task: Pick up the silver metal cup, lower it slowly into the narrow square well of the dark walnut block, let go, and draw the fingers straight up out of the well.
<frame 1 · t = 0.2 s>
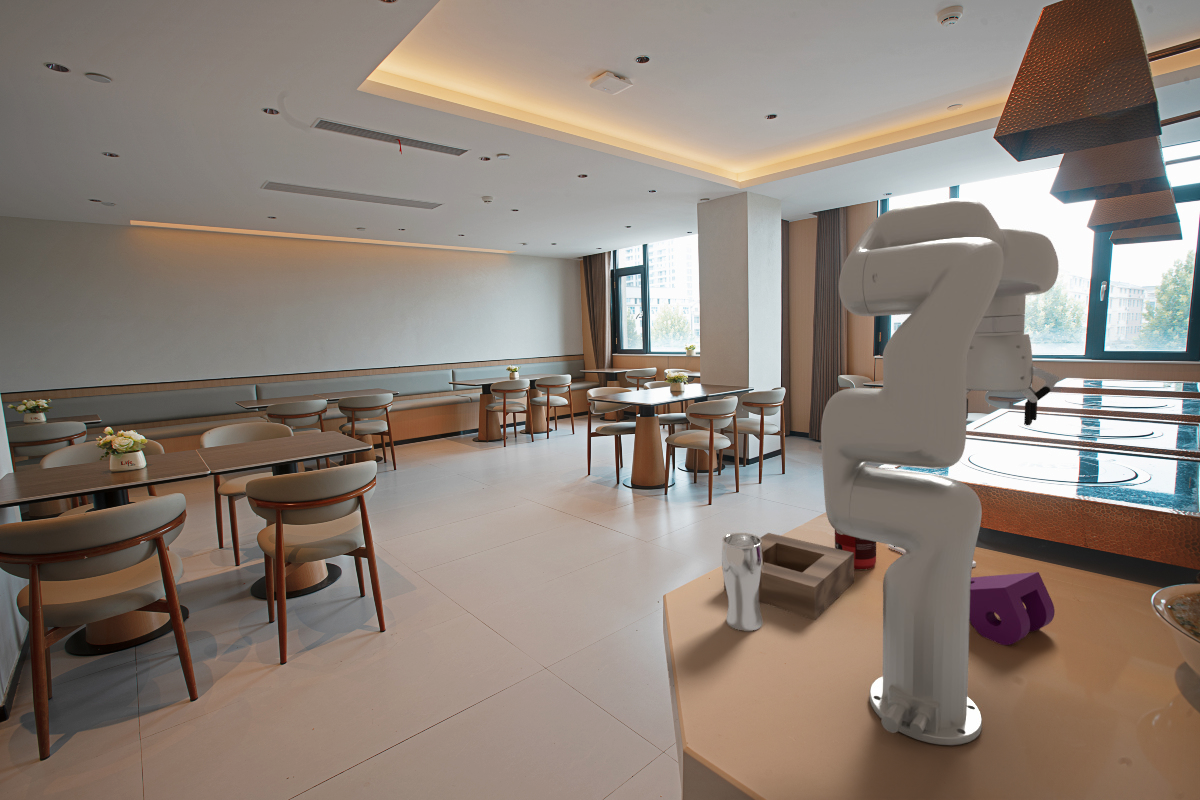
hand: (994, 421, 100), 31 cm above the table, tool pointing down, fingers open, 9 cm apart
power bank: (930, 559, 117), on the table
canned food: (855, 563, 116), on the table
silver metal cup: (744, 623, 96), on the table
walnut well: (789, 585, 108), on the table
mounting bracket: (973, 619, 93), on the table
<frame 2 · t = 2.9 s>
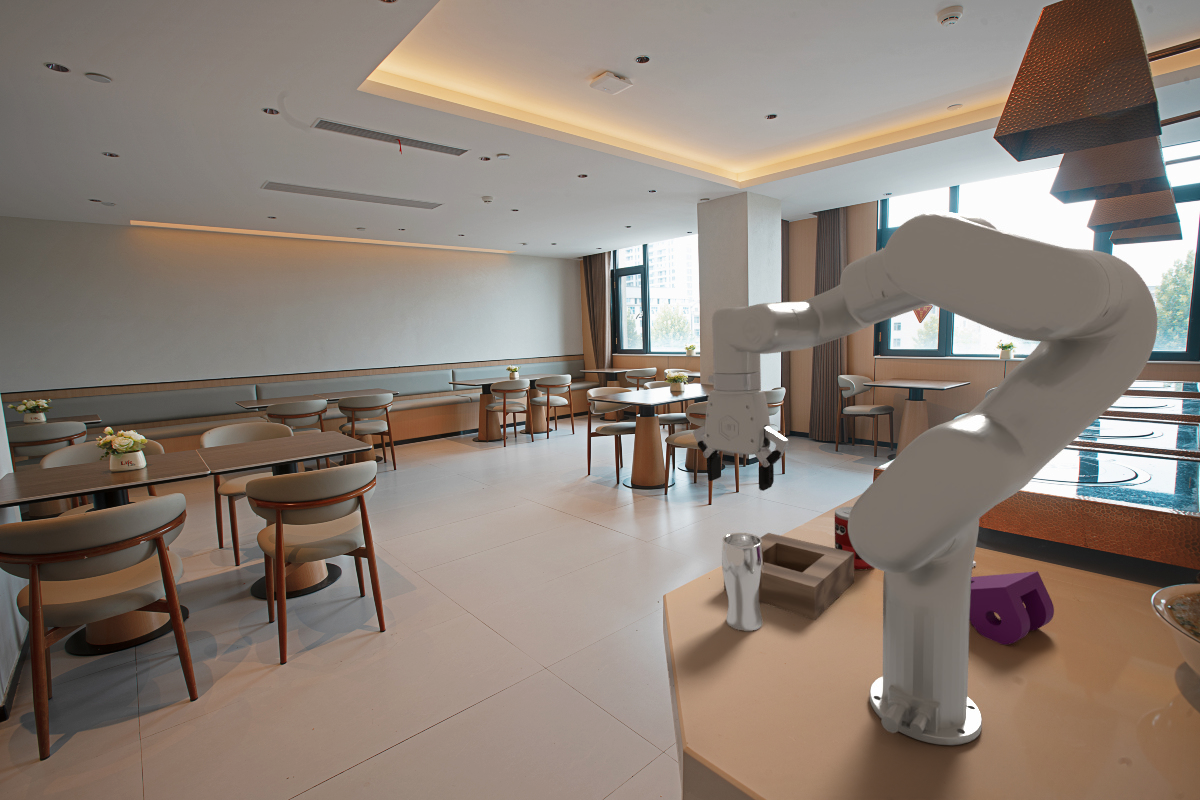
hand: (739, 483, 93), 25 cm above the table, tool pointing down, fingers open, 9 cm apart
nothing on the table moved.
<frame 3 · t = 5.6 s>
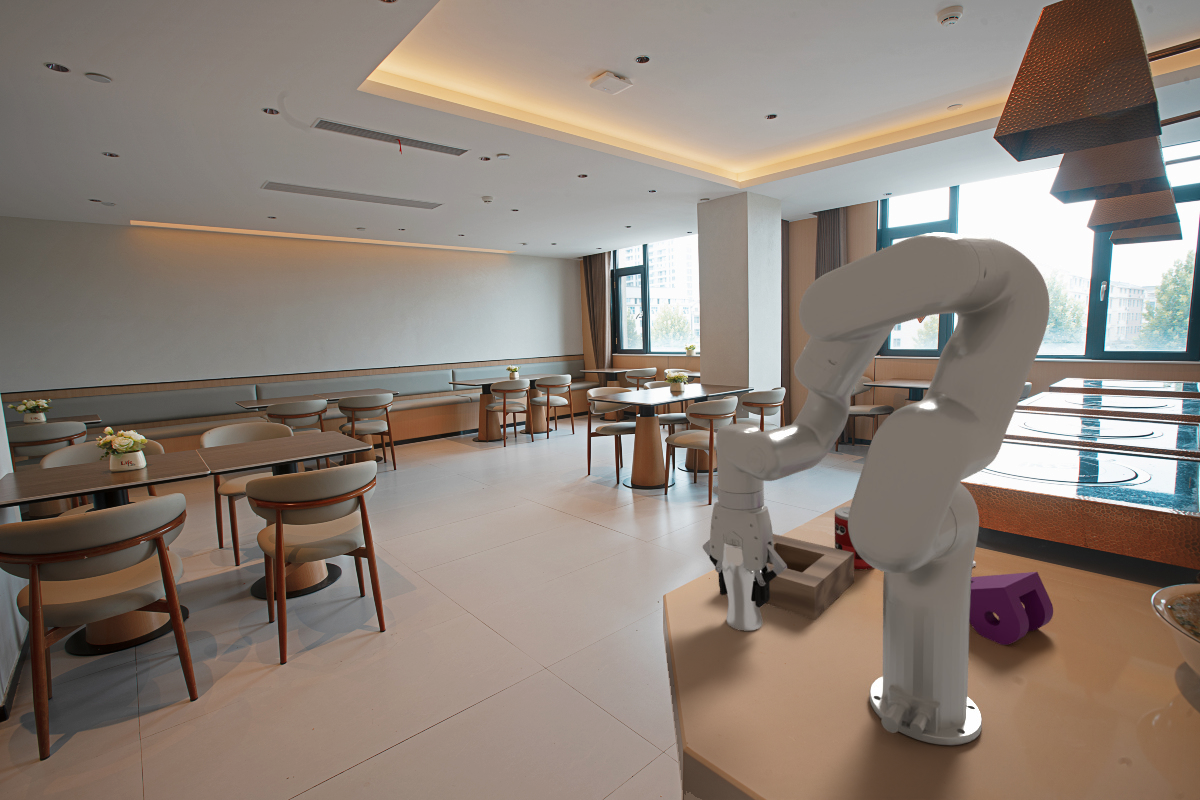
hand: (743, 597, 95), 5 cm above the table, tool pointing down, fingers closed on silver metal cup, 6 cm apart
silver metal cup: (744, 623, 96), on the table, touching gripper
everything else where it was.
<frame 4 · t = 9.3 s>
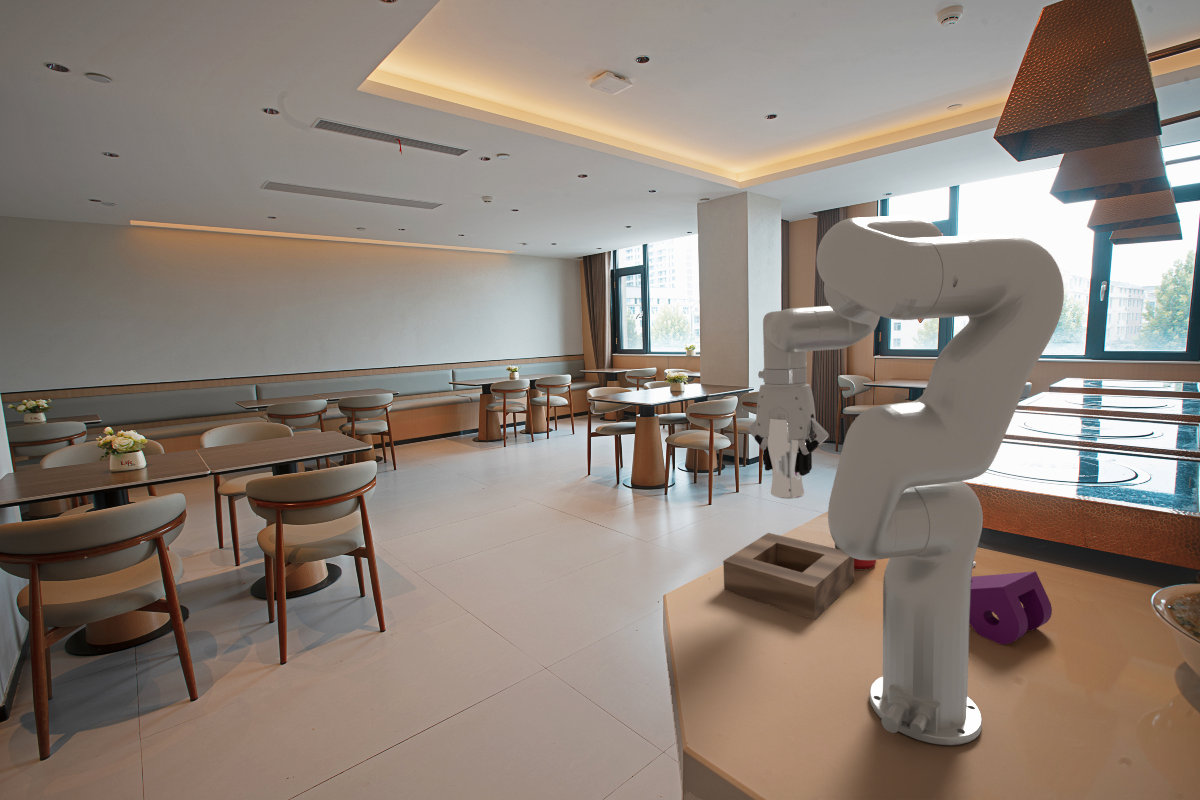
hand: (787, 470, 105), 23 cm above the table, tool pointing down, fingers closed on silver metal cup, 6 cm apart
silver metal cup: (787, 495, 105), point 18 cm above the table, touching gripper
everything else where it was.
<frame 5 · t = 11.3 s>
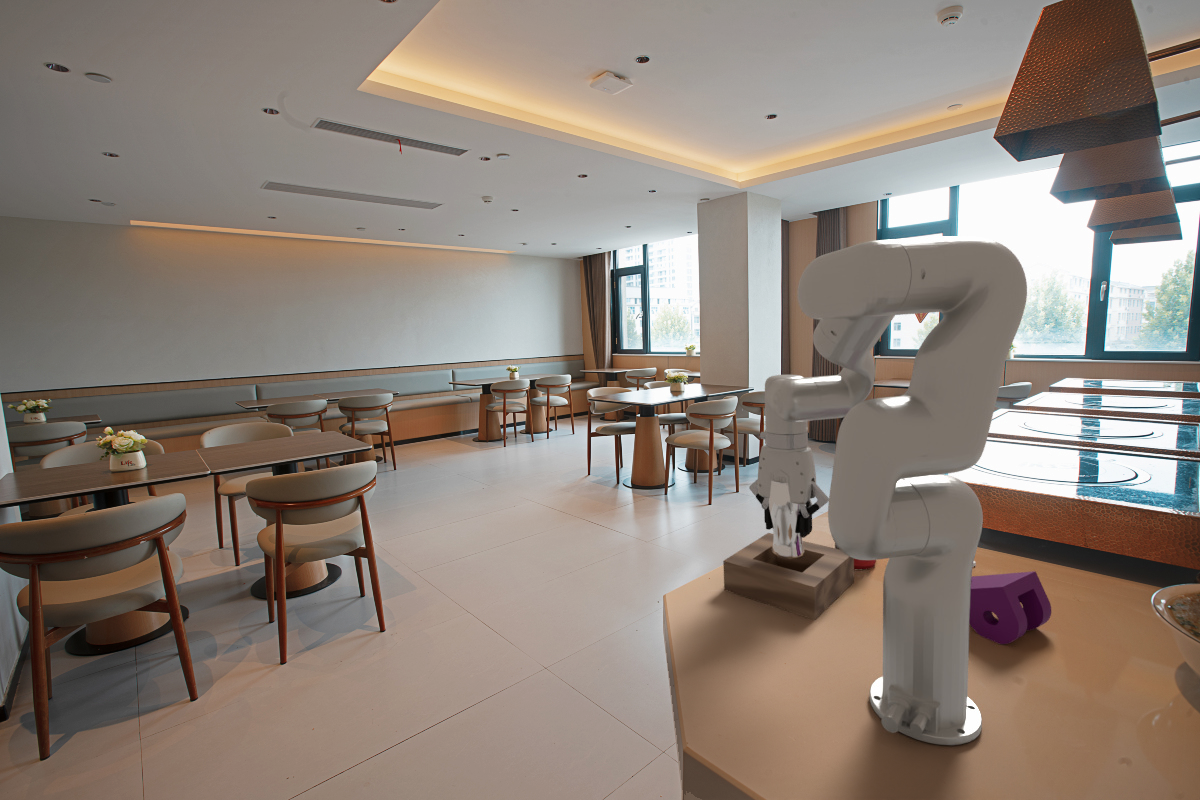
hand: (787, 530, 106), 11 cm above the table, tool pointing down, fingers closed on silver metal cup, 6 cm apart
silver metal cup: (788, 553, 107), point 6 cm above the table, touching gripper
everything else where it was.
when the fingers open (7 cm above the table, at t = 13.0 s): silver metal cup drops 2 cm, resting on walnut well.
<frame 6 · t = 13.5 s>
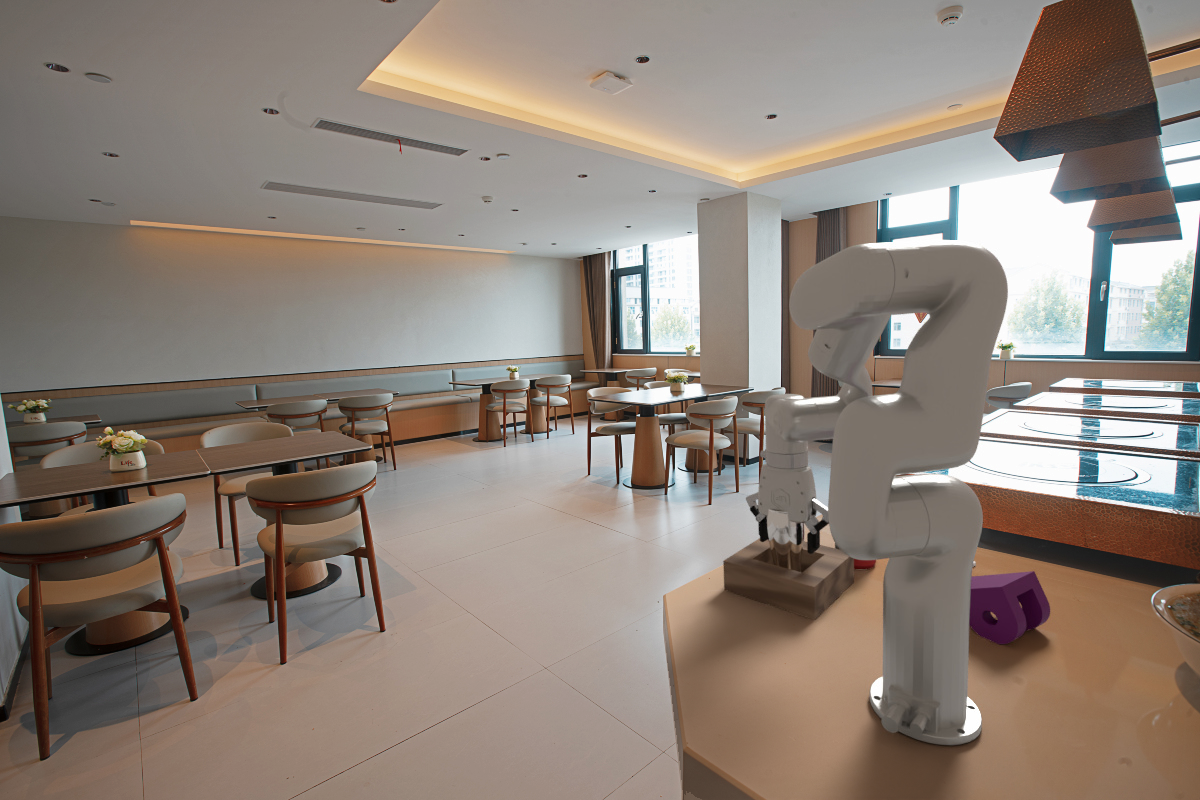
hand: (788, 545, 107), 8 cm above the table, tool pointing down, fingers open, 9 cm apart
silver metal cup: (788, 581, 107), point 1 cm above the table, touching walnut well
everything else where it was.
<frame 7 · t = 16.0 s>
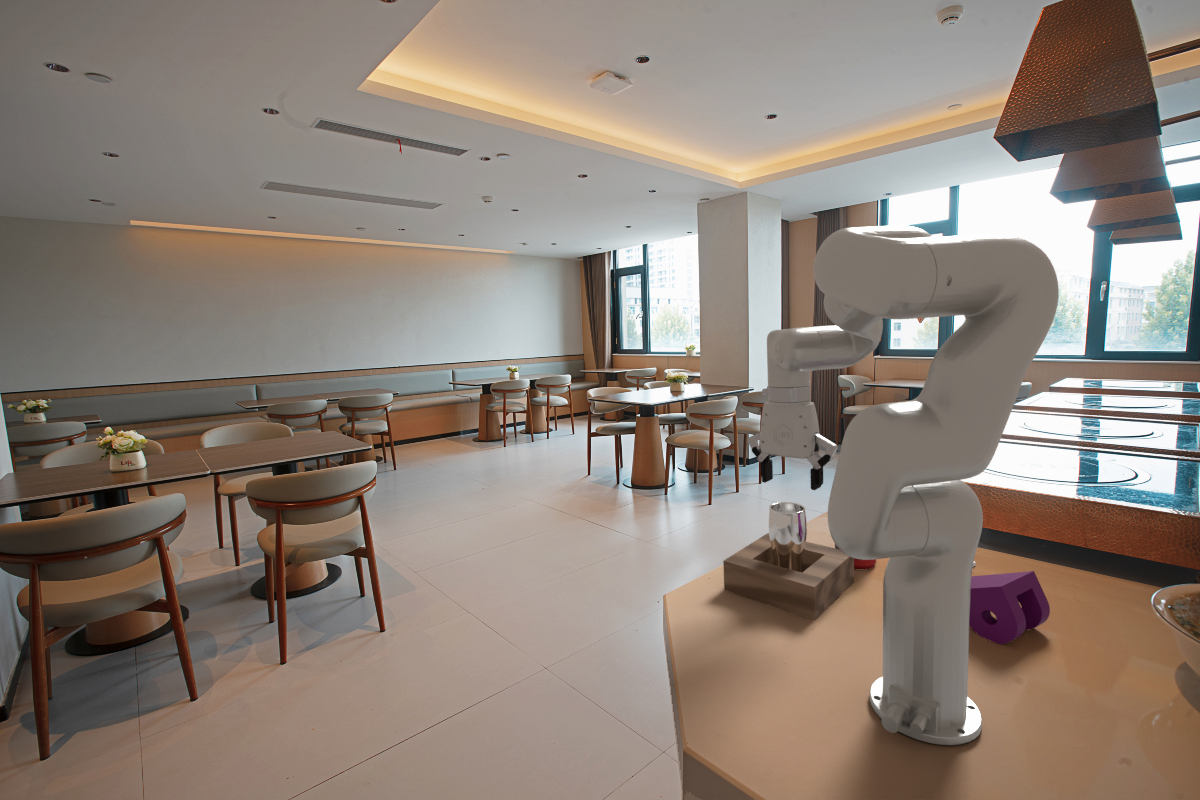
hand: (791, 484, 105), 21 cm above the table, tool pointing down, fingers open, 9 cm apart
nothing on the table moved.
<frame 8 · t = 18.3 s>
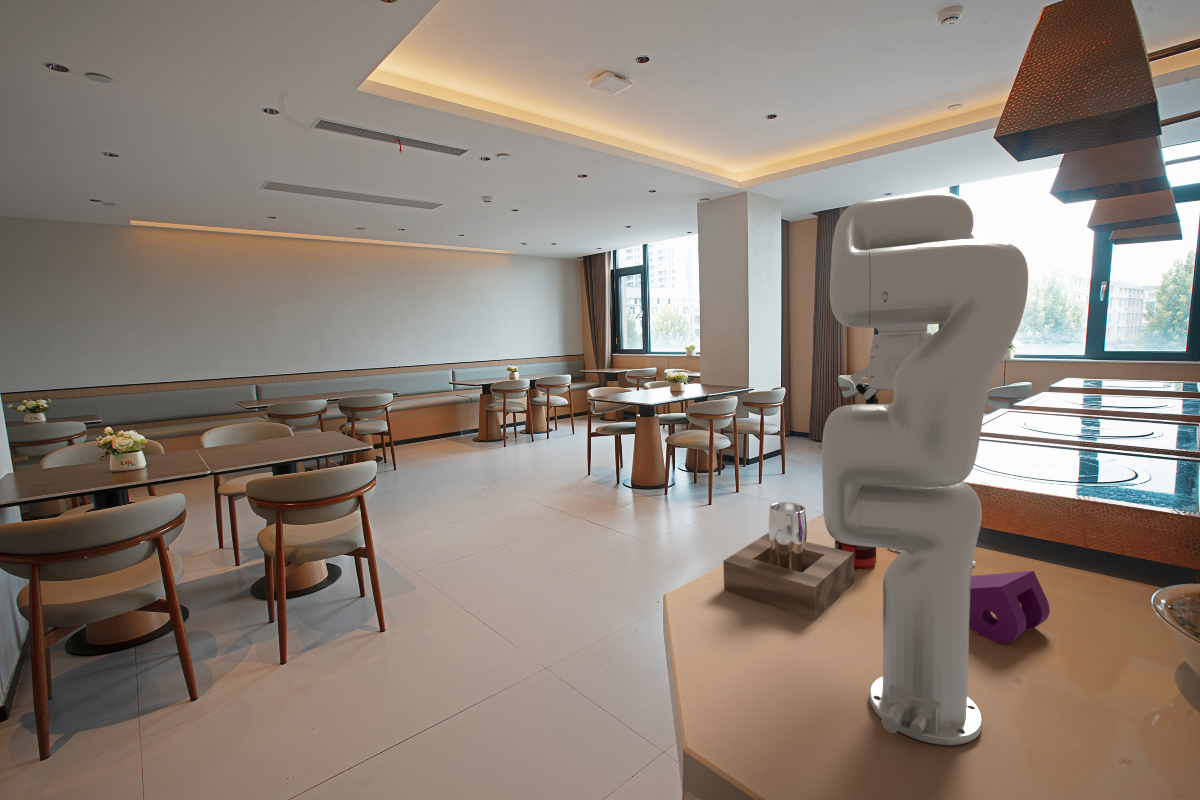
hand: (901, 421, 99), 32 cm above the table, tool pointing down, fingers open, 9 cm apart
nothing on the table moved.
at the end: silver metal cup 0.2 cm off-centre on the walnut well, point 0.8 cm above the walnut well's base; silver metal cup tilted 0°; the gripper is holding nothing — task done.
